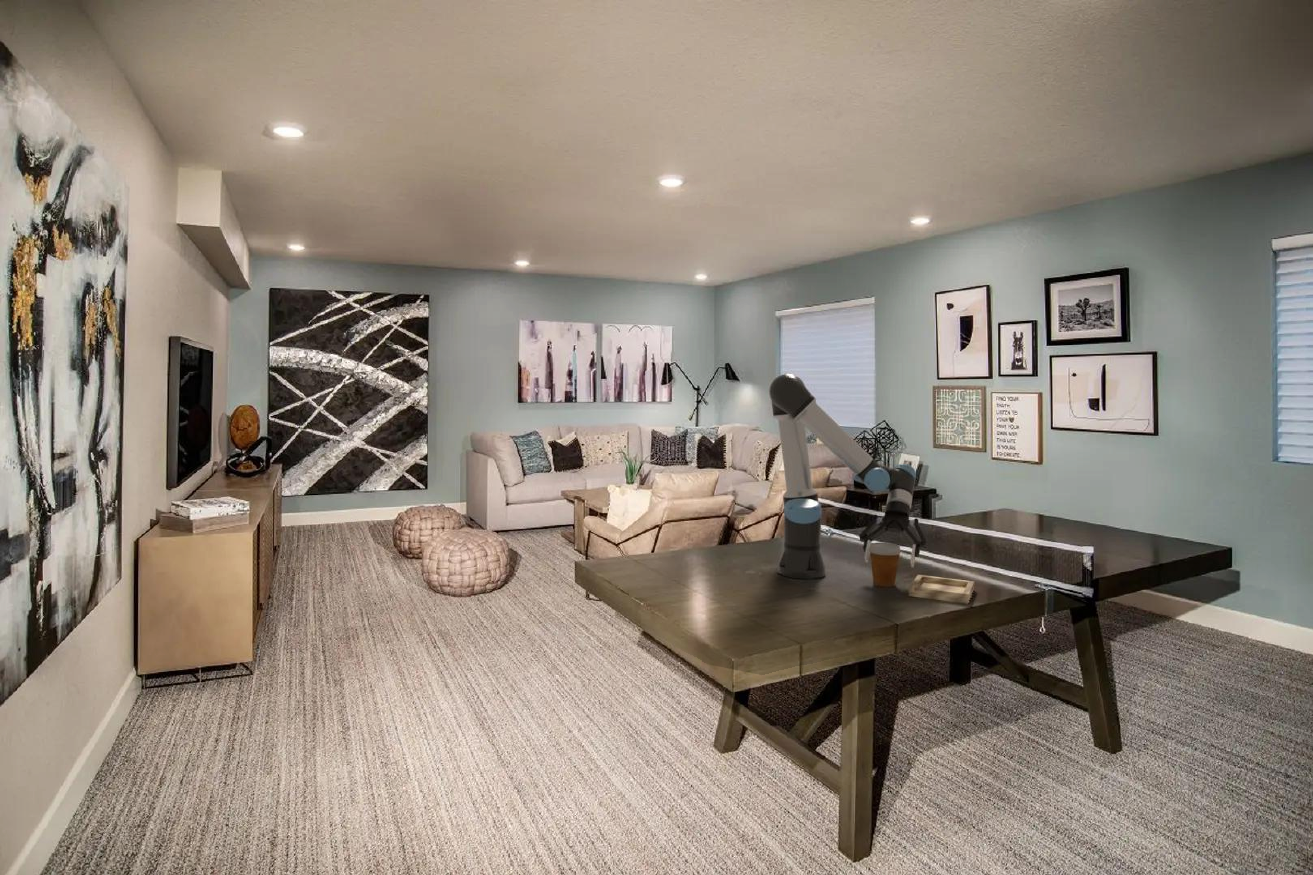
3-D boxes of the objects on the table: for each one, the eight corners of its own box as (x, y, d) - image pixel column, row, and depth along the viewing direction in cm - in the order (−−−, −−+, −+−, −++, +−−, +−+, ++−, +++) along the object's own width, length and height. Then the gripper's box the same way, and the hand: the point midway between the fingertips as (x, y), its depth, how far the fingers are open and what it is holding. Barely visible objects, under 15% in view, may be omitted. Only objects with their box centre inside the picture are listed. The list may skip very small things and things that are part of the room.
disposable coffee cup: (888, 589, 221) (889, 550, 220) (861, 583, 228) (862, 544, 227) (906, 584, 227) (907, 545, 226) (879, 578, 234) (880, 540, 233)
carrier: (908, 595, 215) (908, 586, 214) (917, 583, 229) (918, 574, 228) (968, 603, 207) (968, 594, 207) (974, 590, 221) (974, 581, 221)
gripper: (940, 516, 236) (932, 573, 224) (860, 510, 248) (849, 564, 235) (938, 502, 231) (930, 560, 219) (857, 496, 243) (845, 551, 230)
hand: (888, 562), depth 227 cm, fingers open, 13 cm apart
